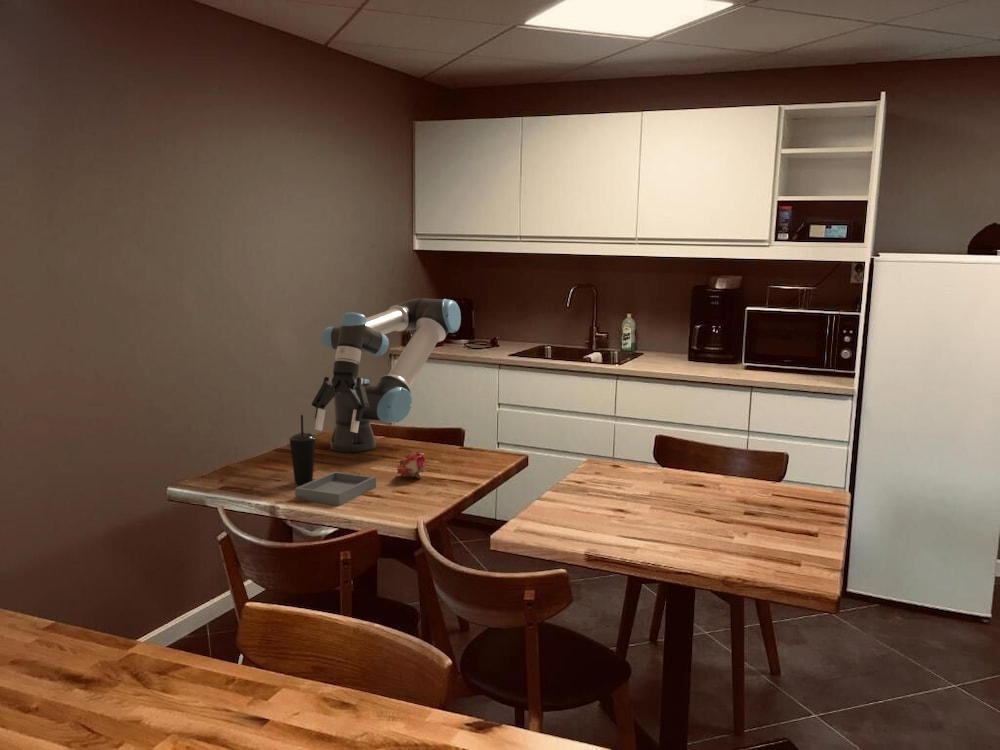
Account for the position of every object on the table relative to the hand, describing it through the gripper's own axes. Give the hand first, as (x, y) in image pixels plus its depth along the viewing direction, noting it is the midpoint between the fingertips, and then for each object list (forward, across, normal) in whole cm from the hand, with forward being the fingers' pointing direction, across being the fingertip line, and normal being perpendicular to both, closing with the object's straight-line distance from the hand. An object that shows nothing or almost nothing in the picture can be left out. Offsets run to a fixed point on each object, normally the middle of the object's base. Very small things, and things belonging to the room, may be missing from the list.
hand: (335, 431), depth 239 cm
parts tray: (+19, +13, -11) cm, 25 cm away
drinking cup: (+17, -1, -8) cm, 19 cm away
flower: (+11, +22, +11) cm, 27 cm away
